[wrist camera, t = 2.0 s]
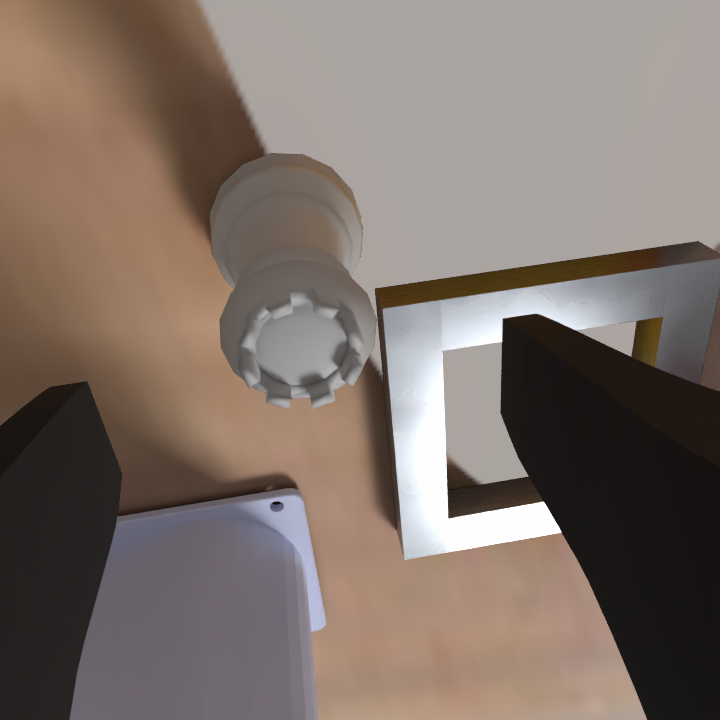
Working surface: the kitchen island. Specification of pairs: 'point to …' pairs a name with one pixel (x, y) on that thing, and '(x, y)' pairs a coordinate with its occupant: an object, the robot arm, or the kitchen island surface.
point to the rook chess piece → (291, 279)
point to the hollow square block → (484, 326)
